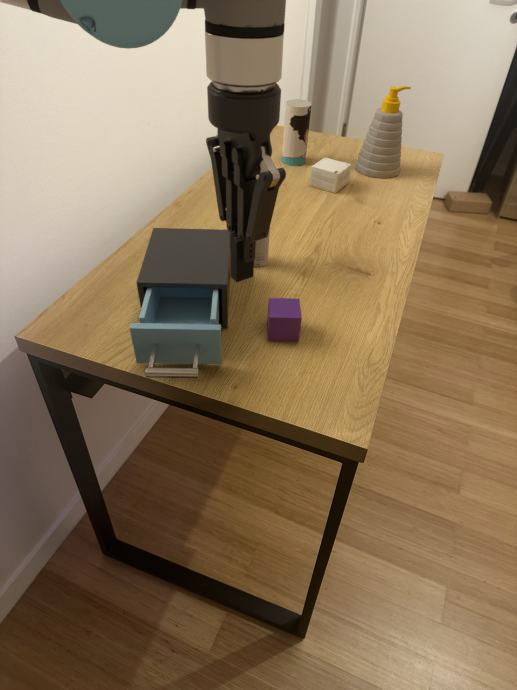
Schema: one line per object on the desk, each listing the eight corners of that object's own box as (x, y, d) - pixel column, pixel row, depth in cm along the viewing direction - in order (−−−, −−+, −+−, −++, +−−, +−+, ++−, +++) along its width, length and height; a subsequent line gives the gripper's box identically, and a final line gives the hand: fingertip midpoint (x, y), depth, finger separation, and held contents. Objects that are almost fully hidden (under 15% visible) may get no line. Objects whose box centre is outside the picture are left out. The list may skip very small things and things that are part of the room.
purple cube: (268, 341, 74) (269, 317, 71) (267, 321, 78) (268, 297, 75) (298, 341, 75) (301, 317, 71) (296, 321, 78) (299, 298, 75)
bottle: (241, 261, 91) (242, 160, 78) (255, 252, 94) (259, 153, 80) (258, 269, 89) (263, 167, 76) (272, 260, 92) (279, 160, 78)
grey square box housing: (227, 327, 76) (227, 284, 70) (144, 326, 76) (136, 282, 70) (230, 270, 89) (230, 229, 83) (158, 269, 88) (153, 227, 82)
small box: (322, 175, 123) (324, 156, 120) (348, 183, 120) (352, 163, 117) (308, 185, 118) (310, 165, 115) (335, 194, 115) (339, 173, 112)
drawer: (219, 396, 64) (218, 361, 60) (128, 395, 64) (120, 359, 59) (225, 300, 80) (224, 267, 75) (152, 299, 80) (147, 265, 75)
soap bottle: (409, 174, 126) (431, 92, 112) (372, 181, 122) (390, 96, 108) (381, 158, 134) (398, 79, 120) (345, 164, 130) (359, 83, 116)
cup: (307, 165, 128) (314, 107, 118) (284, 166, 127) (288, 107, 117) (302, 156, 133) (308, 99, 123) (279, 156, 132) (283, 99, 122)
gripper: (314, 93, 44) (293, 292, 60) (240, 64, 52) (239, 247, 68) (248, 104, 41) (245, 311, 57) (180, 71, 49) (194, 262, 65)
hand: (242, 276), depth 62 cm, fingers closed
